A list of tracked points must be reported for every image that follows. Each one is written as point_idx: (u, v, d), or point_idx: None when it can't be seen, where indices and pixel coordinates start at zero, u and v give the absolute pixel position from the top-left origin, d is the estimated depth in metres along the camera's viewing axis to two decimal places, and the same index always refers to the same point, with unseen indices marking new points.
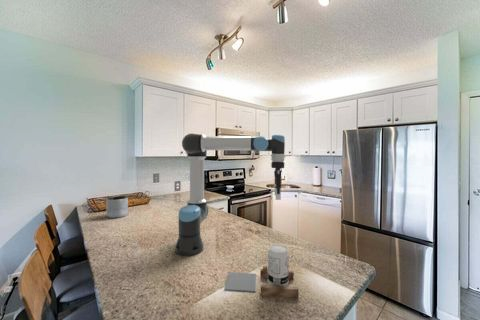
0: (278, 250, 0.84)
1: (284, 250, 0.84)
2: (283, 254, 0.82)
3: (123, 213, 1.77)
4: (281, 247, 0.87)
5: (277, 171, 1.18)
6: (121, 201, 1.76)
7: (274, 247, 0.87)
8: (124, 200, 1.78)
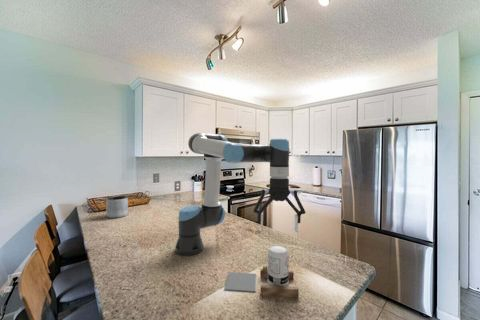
0: (278, 250, 0.84)
1: (284, 250, 0.84)
2: (283, 254, 0.82)
3: (123, 213, 1.77)
4: (281, 247, 0.87)
5: (262, 190, 0.86)
6: (121, 201, 1.76)
7: (274, 247, 0.87)
8: (124, 200, 1.78)
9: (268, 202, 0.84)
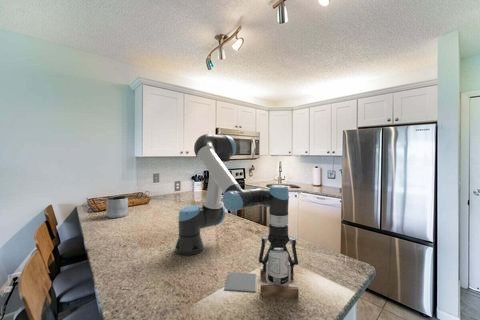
0: (278, 250, 0.84)
1: None
2: (283, 254, 0.82)
3: (123, 213, 1.77)
4: None
5: None
6: (121, 201, 1.76)
7: (274, 247, 0.87)
8: (124, 200, 1.78)
9: None
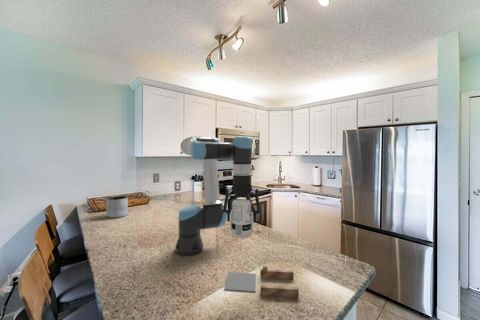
0: (241, 199, 0.86)
1: None
2: (245, 202, 0.83)
3: (123, 213, 1.77)
4: (245, 198, 0.89)
5: None
6: (121, 201, 1.76)
7: (238, 198, 0.89)
8: (124, 200, 1.78)
9: None
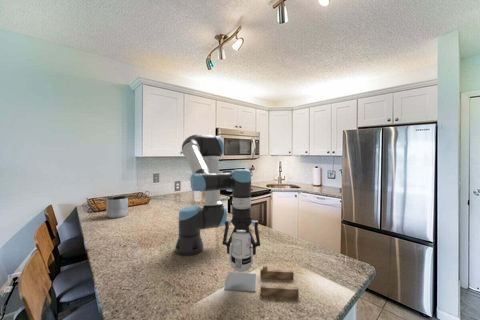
0: (241, 232, 0.86)
1: None
2: (245, 235, 0.84)
3: (123, 213, 1.77)
4: (245, 230, 0.89)
5: None
6: (121, 201, 1.76)
7: (238, 230, 0.89)
8: (124, 200, 1.78)
9: None
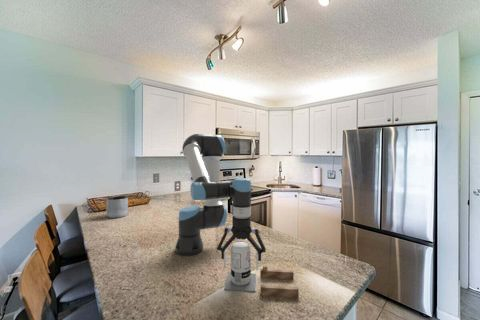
0: (240, 246, 0.86)
1: (246, 245, 0.87)
2: (244, 249, 0.84)
3: (123, 213, 1.77)
4: (244, 243, 0.89)
5: (225, 228, 0.88)
6: (121, 201, 1.76)
7: (237, 243, 0.89)
8: (124, 200, 1.78)
9: (230, 240, 0.86)
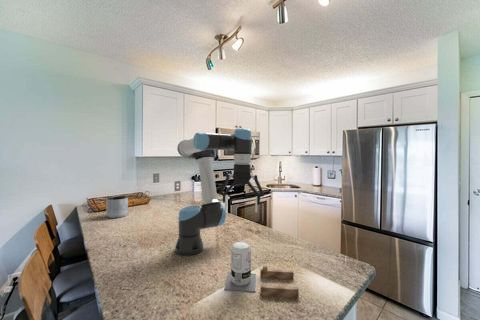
0: (241, 246, 0.86)
1: (246, 246, 0.86)
2: (244, 250, 0.84)
3: (123, 213, 1.77)
4: (245, 243, 0.89)
5: None
6: (121, 201, 1.76)
7: (238, 243, 0.89)
8: (124, 200, 1.78)
9: (231, 185, 0.94)
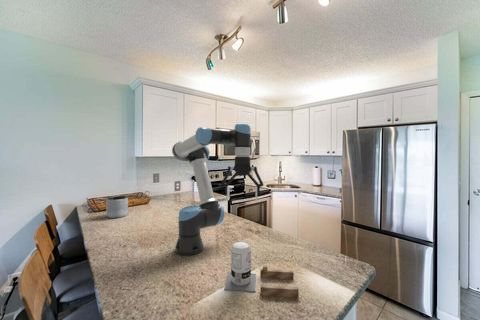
0: (241, 246, 0.86)
1: (246, 246, 0.86)
2: (244, 250, 0.84)
3: (123, 213, 1.77)
4: (245, 243, 0.89)
5: None
6: (121, 201, 1.76)
7: (238, 243, 0.89)
8: (124, 200, 1.78)
9: (233, 176, 1.01)
